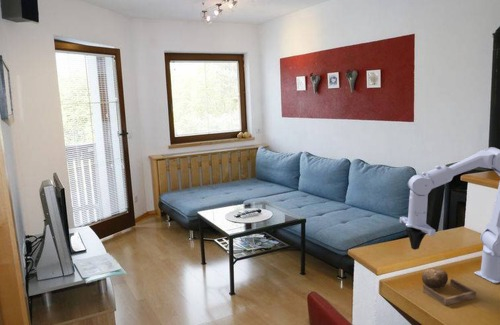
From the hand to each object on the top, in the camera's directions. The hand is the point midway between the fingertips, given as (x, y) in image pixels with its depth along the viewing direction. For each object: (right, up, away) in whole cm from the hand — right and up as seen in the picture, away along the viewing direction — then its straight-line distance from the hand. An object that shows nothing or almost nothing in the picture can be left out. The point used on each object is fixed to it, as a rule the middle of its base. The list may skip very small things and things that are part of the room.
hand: (415, 248), depth 136 cm
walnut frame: (+5, -12, -12) cm, 18 cm away
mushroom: (+3, -11, -7) cm, 13 cm away
